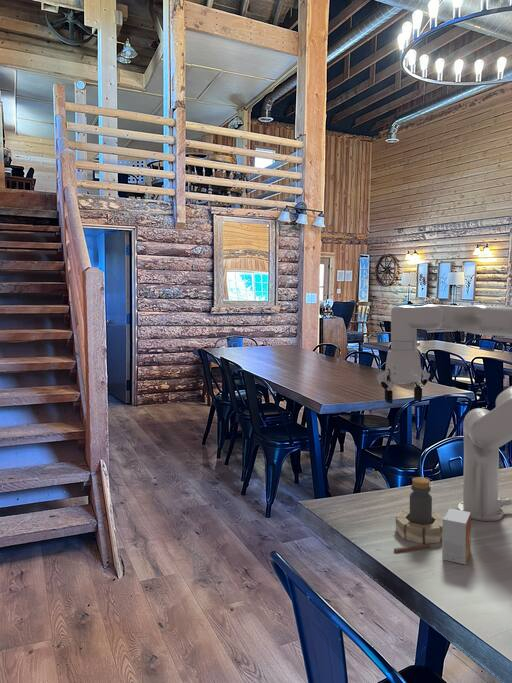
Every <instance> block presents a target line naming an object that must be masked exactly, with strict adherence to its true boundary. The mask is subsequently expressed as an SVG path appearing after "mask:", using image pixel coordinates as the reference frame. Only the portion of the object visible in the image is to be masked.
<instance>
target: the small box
mask: <svg viewBox="0 0 512 683" xmlns="http://www.w3.org/2000/svg"><path fill="white" fill-rule="evenodd" d="M442 529H443V530H442V541H441V543H442V544H441V546H442V547H441V548H442V549H441V550H442V553H441V554H442V555H441V557H442V558H441V560H444V561H449V562H453V563H456V564H461V565H465V566H466V564H467V560H468V558H469V556H470V554H471V548H472V547H471V543H472V541H471V540H472V539H471V538H472V535H471V534H472V519H471V512H467V511H461V510H458V509H454V508H450V507H449V508H448V510H447V512H446V513H445V515H444V517H443V525H442Z"/></svg>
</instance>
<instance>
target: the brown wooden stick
mask: <svg viewBox="0 0 512 683" xmlns="http://www.w3.org/2000/svg"><path fill="white" fill-rule="evenodd" d="M431 546H432V545H431V543H430V544H425V543H423V544H418V545H417V544H416V545H410V546H405V547H403V546H401V547H395V548H393V552H394V553H397V554H398V553H403V552H411V551H417V550H419V551H420V550H423V549H431Z"/></svg>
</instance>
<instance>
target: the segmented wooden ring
mask: <svg viewBox="0 0 512 683" xmlns="http://www.w3.org/2000/svg"><path fill="white" fill-rule="evenodd" d="M443 518H444V517H443V516H442V515H440V514H438V513H437V512H434V511H432V524H428V525H420V524H415V523H411V522H410V508H409V509H402V510H401V511H399V512H398V513H397V515H396V516H395V532H396V533H397V535H399V536H400V538H402V539H405V540H406V541H409V542H413V543H418V544H420V545H423V544H430V545H431V544H435V543H440V542H442V530H443V529H442V525H443Z"/></svg>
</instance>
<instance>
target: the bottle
mask: <svg viewBox="0 0 512 683" xmlns="http://www.w3.org/2000/svg"><path fill="white" fill-rule="evenodd" d="M411 481H412V484H411V487H410V489H411V491H412V492H411V493H410V494H409V509H410V522H411V523H415V524H420V525H428V524H432V512H433V496H432V495H431V494H430V492H431V491H432V489H431V488H432V487H431V486H430V482H431V480H430V479H428V478H426V477H423V476H420V477H419V476H417V477H413V478H412V479H411Z"/></svg>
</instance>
